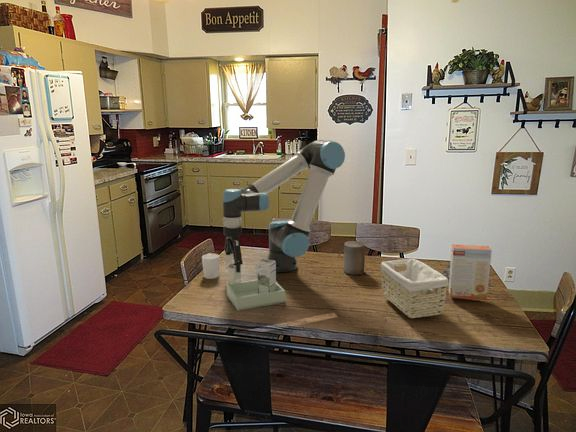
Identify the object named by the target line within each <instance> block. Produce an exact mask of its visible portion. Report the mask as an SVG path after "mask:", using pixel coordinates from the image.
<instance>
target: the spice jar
mask: <svg viewBox="0 0 576 432" xmlns="http://www.w3.org/2000/svg"><path fill="white" fill-rule="evenodd" d="M233 264H234V263H232V264H230V265H229V266H228V269H227V270H228V284H231V283H237V282H242V281H241V280H242V279H237V280H235V279H234V265H233Z"/></svg>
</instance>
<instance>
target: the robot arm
mask: <svg viewBox="0 0 576 432" xmlns="http://www.w3.org/2000/svg"><path fill="white" fill-rule="evenodd" d="M345 158H346V152H345V150H344V147H343V146H342V144H341V143H339V142H337V141H333V140H322V139H318V140H314V141H312V142H310V143H308V144H307V145H306V146H304V147H302V148H300V150H298V151H296V152H295V154H294V156H292V157H291V158H290V159H288V160H287V161H285V162H283V163H282V164H281V165H279V166H278V167H276V168H274V169H272V170H270V171H269V172H268V173H266V175H264V176H261V178H259V179H258V180H255V182H253V183H251V184H250V185H249V186H247V187H241V188H239V189H238V188H227V189H224V191H223V192H222V193H223V194H222V210H223V213H222V214H223V218H222V219H221V221H222V222H223V235H224V236H225V241H224V243H225V244H224V249H223V250H224V252H225V266H226V268H225V269H226V270H228V266H229V265H230V264H233V265H234V279H235V280H237V279H240V280H242V265H243V264H244V263H243V258H242V257H243V256H242V250H241V241H240V240H239V239H238V238H239V237H240V236H241V235H242V230H243V229H242V228H243V227H242V219H243V218H242V212H258V211H259V212H262V211H267V210H269V207H270V198H269V193H270V192H272V191H273V190H275V189H276V188H278V187H280V186H281V185H282V184H284V183H285V182H287V181H289V180H290V179H291V178H293V177H295V176H297V174H299V173H301V172H302V171H303V170H305V171H307V170H309V169H310V172H309V174H308V177H307V179H306V182H305V184H304V186H303V189H302V191H301V194H300V197H299V199H298V202H297V204H296V206H295V209H294V212H293V214H292V216H291V218H290V219H289V220H274V221H271V222H270V223H269V224H268V249H269V250H268V251H269V253H268V256H267V258H266V259H267V260H274V261H275V262H276V273H288V272H293V271H295V270H296V269H297V268H298V262H297V259H296V258H299V257H301V256H303V255H305V253H307V251H308V250H309V247H310V240H309V235H310V234H311V229H310V224H311V222H312V219H313V217H314V214H315V212H316V210H317V207H318V205H319V202H320V200H321V197H322V196H323V192H324V190H325V187H326V185H327V183H328V180H329V178H330V177H332V176H334V175H335V172H336V170H337V169H338V168H340V167H342V165H343V164H344V162H345V160H346V159H345Z"/></svg>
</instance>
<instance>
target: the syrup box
mask: <svg viewBox="0 0 576 432" xmlns="http://www.w3.org/2000/svg"><path fill="white" fill-rule="evenodd" d="M256 266H257V267H256V271H257V273H256V275H257V279H258V294H262V293H268V292H274V291H276V282H277V280H276V279H277V274H276V273H277V272H276V262H275V261H274V260H267V258H263V259H261V260H259V261H257V263H256Z"/></svg>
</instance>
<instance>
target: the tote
mask: <svg viewBox="0 0 576 432" xmlns="http://www.w3.org/2000/svg"><path fill="white" fill-rule="evenodd" d="M226 297H227V299H228V300H229V301H230V303H231V304H232V306H233V307H234V309H235V310H236V311H237V312H239V311H240V312H241V311H245V310H251V309H256V308H261V307H266V306H267V307H268V306H272V305H279V304H283V303H286V290H285V289H284V288H283V287H282V286H281V285H280V284H279V283H278V281H276V291H274V292H268V293H262V294H258V278H257V279H252V280H246V281H245V280H244V281H241V282H237V283H231V284H229V283H226Z"/></svg>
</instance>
